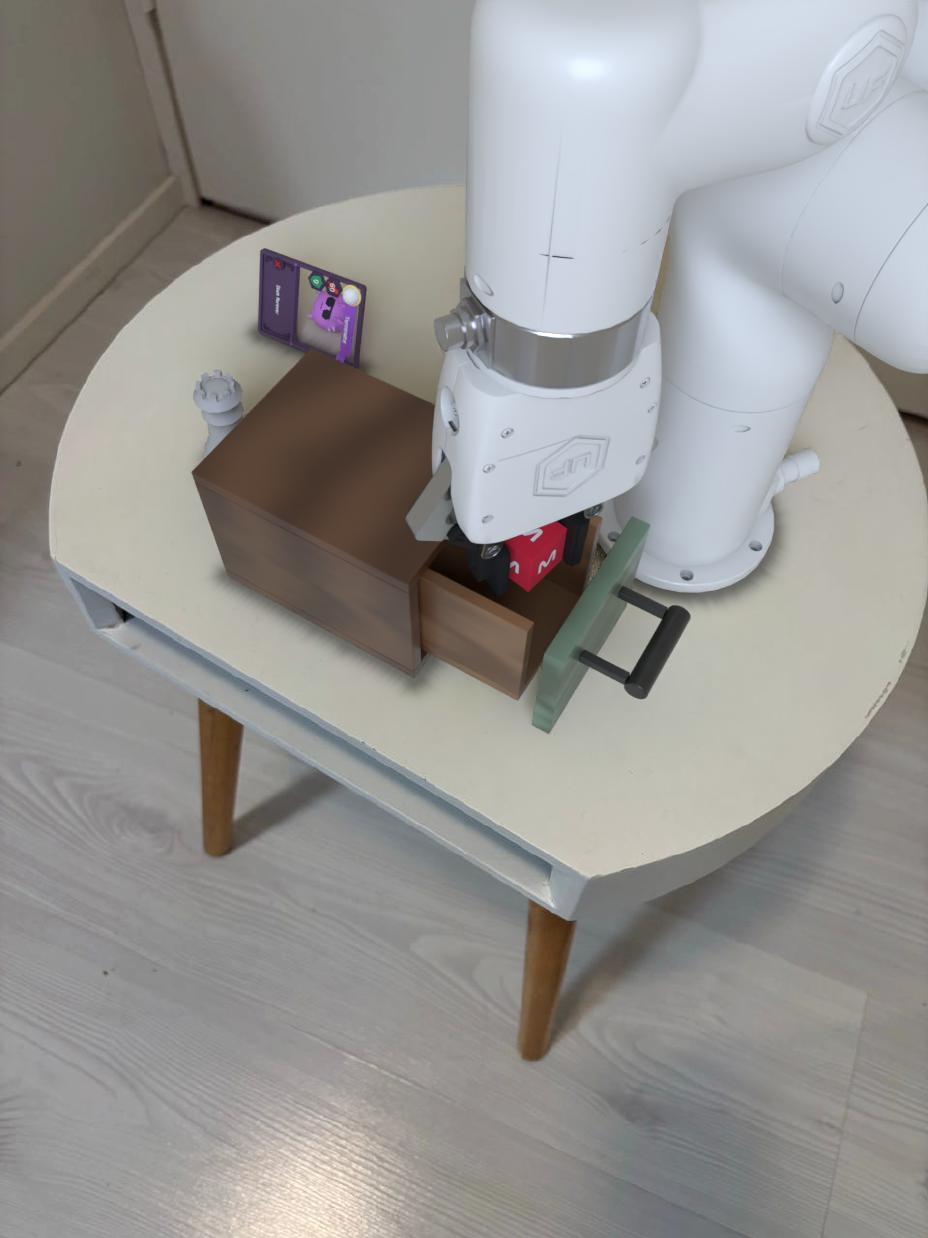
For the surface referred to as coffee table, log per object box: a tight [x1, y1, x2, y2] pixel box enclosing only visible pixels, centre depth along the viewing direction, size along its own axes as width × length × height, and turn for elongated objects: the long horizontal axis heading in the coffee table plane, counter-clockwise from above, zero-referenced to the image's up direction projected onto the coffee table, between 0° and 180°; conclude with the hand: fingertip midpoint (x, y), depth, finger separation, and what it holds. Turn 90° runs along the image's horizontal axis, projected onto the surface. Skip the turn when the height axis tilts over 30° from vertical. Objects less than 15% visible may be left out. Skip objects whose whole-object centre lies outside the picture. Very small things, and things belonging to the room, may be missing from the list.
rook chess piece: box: [192, 369, 245, 459], centre depth 66 cm, size 4×4×8 cm
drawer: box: [417, 515, 692, 735], centre depth 58 cm, size 18×11×9 cm, turn 59°
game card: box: [257, 247, 368, 370], centre depth 74 cm, size 7×5×9 cm
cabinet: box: [190, 348, 449, 679], centre depth 61 cm, size 15×12×11 cm
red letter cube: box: [504, 521, 567, 592], centre depth 54 cm, size 3×3×3 cm
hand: (525, 559), depth 55 cm, fingers closed on red letter cube, 4 cm apart
